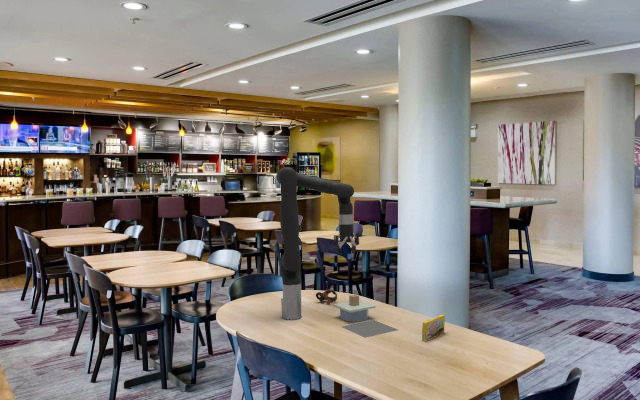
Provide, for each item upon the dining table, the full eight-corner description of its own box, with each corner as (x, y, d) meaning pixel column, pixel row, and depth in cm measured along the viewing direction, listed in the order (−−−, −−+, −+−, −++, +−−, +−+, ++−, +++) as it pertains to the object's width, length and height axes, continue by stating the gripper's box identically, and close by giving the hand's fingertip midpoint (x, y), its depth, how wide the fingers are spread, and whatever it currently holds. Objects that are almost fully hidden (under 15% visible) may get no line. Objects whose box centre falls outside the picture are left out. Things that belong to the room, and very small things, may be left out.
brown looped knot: (334, 300, 299) (338, 289, 295) (334, 312, 291) (338, 300, 287) (314, 296, 298) (317, 285, 294) (313, 307, 289) (317, 296, 285)
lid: (350, 312, 250) (350, 301, 249) (333, 305, 263) (333, 295, 262) (375, 307, 257) (375, 296, 257) (358, 301, 270) (357, 290, 270)
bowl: (351, 324, 252) (350, 311, 251) (336, 317, 263) (336, 306, 262) (373, 319, 258) (372, 307, 258) (357, 313, 269) (357, 302, 269)
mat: (364, 338, 230) (364, 337, 230) (341, 327, 246) (341, 326, 246) (398, 331, 240) (398, 329, 240) (373, 321, 256) (373, 319, 256)
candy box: (425, 342, 224) (425, 323, 224) (421, 341, 226) (421, 322, 225) (445, 332, 236) (444, 314, 236) (440, 332, 238) (440, 313, 237)
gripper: (353, 221, 277) (353, 252, 278) (330, 223, 269) (331, 254, 270) (361, 222, 270) (362, 254, 271) (338, 224, 263) (339, 256, 264)
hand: (346, 254), depth 271 cm, fingers open, 8 cm apart
